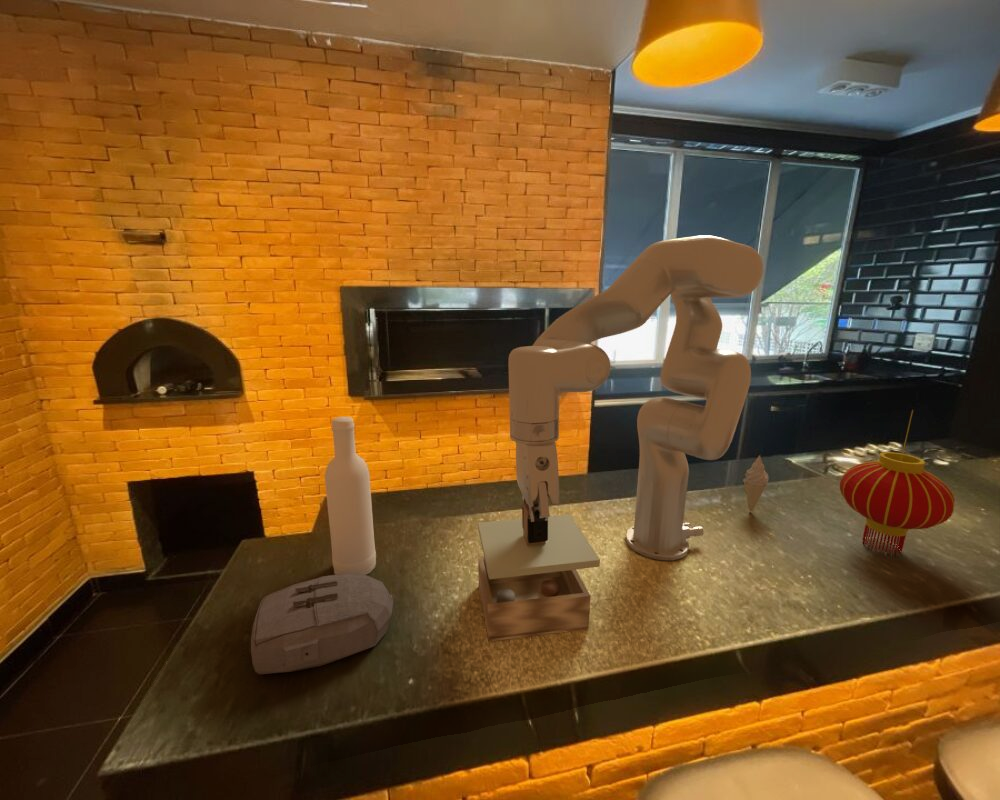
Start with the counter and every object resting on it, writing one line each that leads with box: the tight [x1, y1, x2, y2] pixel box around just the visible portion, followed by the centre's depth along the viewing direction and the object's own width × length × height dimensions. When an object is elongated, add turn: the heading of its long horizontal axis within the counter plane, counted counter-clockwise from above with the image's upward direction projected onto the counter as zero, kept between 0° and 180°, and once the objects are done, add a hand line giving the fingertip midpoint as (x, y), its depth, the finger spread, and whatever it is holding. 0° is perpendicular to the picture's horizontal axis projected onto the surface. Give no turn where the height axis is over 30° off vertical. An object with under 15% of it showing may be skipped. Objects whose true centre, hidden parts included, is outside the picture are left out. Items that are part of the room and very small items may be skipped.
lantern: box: [839, 409, 955, 554], centre depth 86 cm, size 17×17×30 cm
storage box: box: [477, 555, 591, 643], centre depth 71 cm, size 16×13×6 cm
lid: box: [477, 503, 601, 579], centre depth 69 cm, size 17×14×8 cm
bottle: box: [324, 416, 377, 576], centre depth 79 cm, size 8×8×30 cm
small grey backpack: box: [250, 573, 395, 675], centre depth 65 cm, size 15×8×20 cm
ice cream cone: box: [742, 454, 769, 512], centre depth 102 cm, size 5×5×15 cm
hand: (534, 533), depth 69 cm, fingers closed on lid, 3 cm apart
